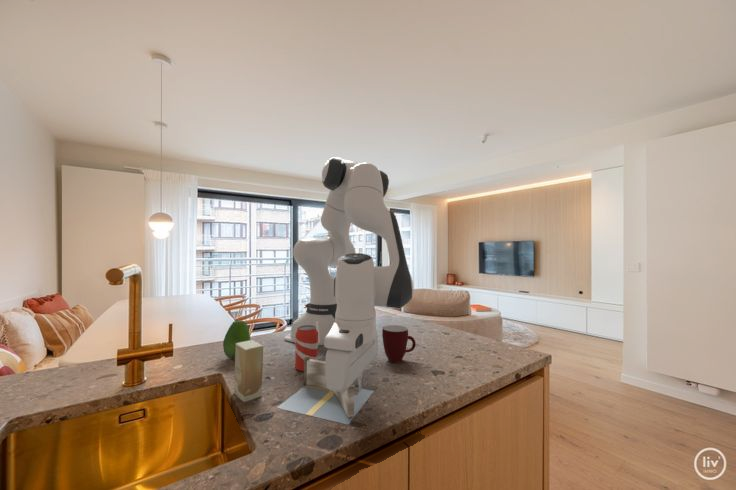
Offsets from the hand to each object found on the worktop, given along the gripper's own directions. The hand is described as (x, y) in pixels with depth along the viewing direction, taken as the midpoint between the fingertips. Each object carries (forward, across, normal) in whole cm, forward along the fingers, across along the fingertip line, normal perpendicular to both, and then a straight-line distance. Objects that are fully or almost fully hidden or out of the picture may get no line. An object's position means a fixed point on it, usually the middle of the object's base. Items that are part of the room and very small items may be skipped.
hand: (355, 392), depth 65 cm
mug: (+5, -32, +1) cm, 32 cm away
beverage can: (+4, -15, -22) cm, 27 cm away
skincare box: (+4, +4, -26) cm, 26 cm away
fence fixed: (+4, -5, -12) cm, 14 cm away
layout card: (+4, -1, -7) cm, 8 cm away
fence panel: (+3, 0, -3) cm, 4 cm away
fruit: (+4, -14, -47) cm, 49 cm away
